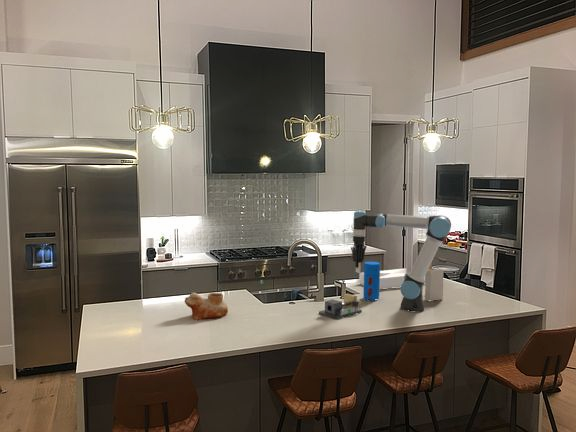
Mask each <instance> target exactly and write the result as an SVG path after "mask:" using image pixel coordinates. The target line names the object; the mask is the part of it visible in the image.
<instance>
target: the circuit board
mask: <svg viewBox="0 0 576 432" xmlns="http://www.w3.org/2000/svg"><path fill="white" fill-rule="evenodd" d="M342 303H343V301H340V300H336V299H333V298H332V299H328V300H325V301H324V309H323V310H319V311H318V314H319V315H321V316H324V317H328V318H331V319H334V320H339V318H340V319H343V318H342V317H344V318H347V317H350V316H349V315H351V316H354V315H357V314H356V313H358V314H361V313H360V312H362V313H363V311H362V309H360V308H359V307H360V305H358V310H357V307H355V306H354V307H350V308H347V307H342ZM353 314H354V315H353ZM346 316H347V317H346Z"/></svg>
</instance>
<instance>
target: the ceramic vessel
mask: <svg viewBox="0 0 576 432" xmlns="http://www.w3.org/2000/svg"><path fill="white" fill-rule="evenodd" d="M223 299H224V294H223V293H220V292H218V293H217V292H209V293H208V294H207V298H204V297H202V296H201V295H200V294H198V293H197V292H191V293H190V295H188V296H186V297H185V298H184V304H185V305H186V306H187V307H189V308H190V309H191V318H192V319H193V320H194V321H201V320H212V319H213V320H215V319H217V320H218V319H221V318H223V317H225V316H227V315H228V312H229V308H228V305H227V303H226V302H224V301H223Z"/></svg>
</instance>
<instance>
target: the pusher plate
mask: <svg viewBox="0 0 576 432" xmlns="http://www.w3.org/2000/svg"><path fill="white" fill-rule="evenodd" d="M357 298H358V296H357V295H355V294H350V293H344V294H343V302H342V307H347V308H350V307H354V306H352V301H354V300H355V301H358V306H361V305H362V301H363V300H359V299H357Z"/></svg>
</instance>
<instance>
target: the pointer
mask: <svg viewBox="0 0 576 432" xmlns="http://www.w3.org/2000/svg"><path fill="white" fill-rule="evenodd" d="M352 306H355V307H357V310H358V306H359V305H358V301H355V300H354V301H352Z"/></svg>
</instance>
